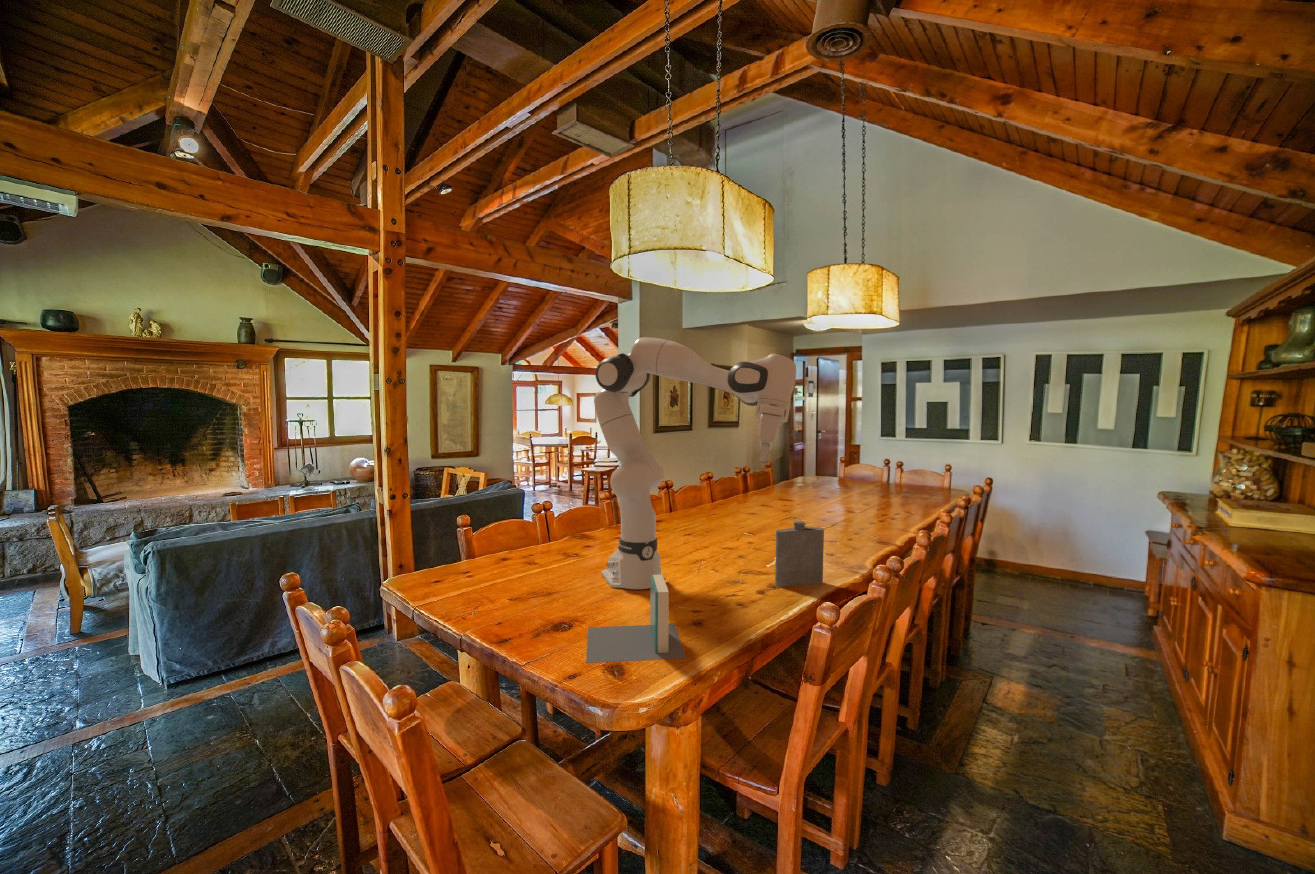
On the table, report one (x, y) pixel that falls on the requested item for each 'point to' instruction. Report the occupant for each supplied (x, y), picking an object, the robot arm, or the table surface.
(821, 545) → the hip flask
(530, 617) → the table surface
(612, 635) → the mat
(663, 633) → the tile
